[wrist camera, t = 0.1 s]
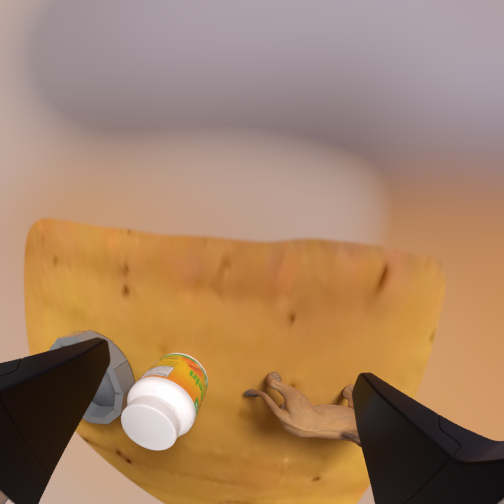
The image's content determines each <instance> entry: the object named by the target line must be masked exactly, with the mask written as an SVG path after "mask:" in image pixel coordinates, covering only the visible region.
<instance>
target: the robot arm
mask: <svg viewBox="0 0 504 504" xmlns="http://www.w3.org/2000/svg"><path fill="white" fill-rule="evenodd" d="M110 361H111V357H110V351H109V344H108V341H107V340H106V339H103V338H99V337H96V338H92V339H89V340H85V341H82V342H79V343H75V344H72V345H68V346H65V347H61V348H58V349H54V350H50V351H47V352H43V353H39V354H36V355H32V356H28V357H24V358H23V359H21V358H20V359H16V360H12V361H8V362H3V363H0V504H5V503H6V501H7V500H8V499H9V500H10V501H11V502H12V503H14V504H38V503H39V501H40V499H41V497H42V495H43V493H44V490H45V488H46V486H47V484H48V482H49V480H50V478H51V475H52V473H53V471H54V469H55V467H56V465H57V463H58V462H59V460H60V458H61V456H62V454H63V452H64V450H65V448H66V446H67V445H68V443H69V441H70V439H71V437H72V435H73V433H74V432H75V430H76V428H77V426H78V425H79V423H80V421H81V419H82V418H83V416H84V414H85V412H86V411H87V409H88V407H89V405H90V404H91V402H92V400H93V399H94V397H95V395H96V393H97V391H98V389H99V387H100V385H101V382H102V380H103V378H104V376H105V373H106V371H107V369H108V367H109V365H110ZM352 400H353V406H354V413H355V420H356V426H357V431H358V435H359V439H360V443H361V447H362V451H363V454H364V458H365V462H366V466H367V470H368V475H369V479H370V483H371V487H372V492H373V496H374V501H375V504H504V441H494V440H491V439H488V438H486V437H483V436H481V435H479V434H476V433H474V432H472V431H470V430H467V429H465V428H463V427H461V426H459V425H457V424H455V423H453V422H451V421H449V420H448V419H446V418H444V417H442V416H441V415H438V414H437V413H435V412H434V411H432V410H430V409H429V408H427V407H425V406H423V405H422V404H420V403H419V402H417V401H415V400H414V399H412V398H410V397H409V396H407V395H406V394H404V393H402V392H401V391H399V390H397V389H396V388H394V387H393V386H391V385H389V384H388V383H386V382H385V381H383V380H381V379H380V378H378V377H377V376H375V375H374V374H372V373H360V374H359V376H358V378H357V380H356V383H355V385H354V388H353V390H352Z"/></svg>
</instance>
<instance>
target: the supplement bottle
mask: <svg viewBox="0 0 504 504" xmlns="http://www.w3.org/2000/svg"><path fill="white" fill-rule="evenodd" d="M207 385H208V378H207V374H206V371H205V369H204V368H203V366H202V365H201V364H200V363H199V362H198V361H197V360H196V359H195V358H193V357H191V356H189V355H186V354H183V353H171V354H167V355H165V356H163V357H162V358H161V359H159V360H158V361H157V362H156V363H155V364H154V365H153V366H152V367H151V368H150V369H149V370H148V371H147V372H146V373H145V374H144V375H143V376H142V377H141V378H140V379H139V380H138V381H137V382H136V383H135V384H134V385H133V386H132V388H131V389H130V391H129V394H128V398H127V404H128V405H127V407H126V408H125V409H124V410H123V412H122V415H121V423H122V427H123V429H124V431H125V432H126V434H127V435H128V436H129V437H130V438H131V439H132V440H133V441H134V442H135V443H137V444H138V445H140V446H142V447H144V448H147V449H150V450H165V449H168V448H170V447H171V446H172V445H173V444H174V443H175V441H176V439H177V437H179V436H181V435H183V434H185V433H187V432H188V431H189V430H190V428H191V427H192V425H193V423H194V421H195V418H196V416H197V413H198V410H199V408H200V405H201V402H202V400H203V397H204V395H205V392H206V390H207Z"/></svg>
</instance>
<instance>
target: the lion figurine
mask: <svg viewBox="0 0 504 504" xmlns="http://www.w3.org/2000/svg"><path fill="white" fill-rule="evenodd" d="M266 381H267V383H268V385H269V386H270V387H271V388H273V389H275V390H277V391H278V392H279V393H280V394H281V395H282V396H283V397H284V400H285V404H282V405H280V408H279V407H278V406H277V405H276V404H275V402H274V401H273V400H272V399H271V398H270V397H269V396H268V395H267V394H266V393H264V392H262V391H256V390H253V389H251V390H248V391H246V392H245V395H246V396H253V397H258V396H260V397H262V398H263V399H264V400H265V401H266V403H267V404H268V406H269V407H270V409H271V410H272V412H273V413H274V414H275V415H276V416H277V417H278V419H279V420H280V422H281V425H282V427H283V428H284V429H285V430H286V431H287V432H289V433H291V434H294V435H296V436H298V437H303V438H307V437H320V438H329V439H338V440H348V441H352V442H354V443H356V444H357V445H358V446H360V447H361V443H360V439H359V435H358V431H357V426H356V420H355V413H354V406H353V400H352V390H353V388H354V385H353V384H350V385H348V386H347V387H346V388H345V389H344V391H343V396H344V397H345V398H346V399H347V400H348V407H345V406H340V405H318V406H313V405H312V404H311V402H310V401H309V400H308V398H307V397H306V396H305V395H303V394H302V393H301V392H300V391H298V390H297V389H295V388H293V387H291V386H288V385H286V384H283V383H281V382H280V381H281V377H280V375H279V374H278V373H277V372H271V373H270V374H269V375H268V376H267V379H266ZM412 399H413V398H412Z"/></svg>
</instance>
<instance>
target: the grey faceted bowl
mask: <svg viewBox="0 0 504 504" xmlns="http://www.w3.org/2000/svg"><path fill="white" fill-rule="evenodd" d="M96 337H99V338H103V339H106V340H107V341H108V344H109V351H110V357H111V361H110V365H109V367H108V369H107V371H106V373H105V376H104V378H103V380H102V382H101V385H100V387H99V389H98V391H97V393H96V395H95V397H94V399H93V400H92V402H91V404H90V405H89V407H88V409H87V411H86V412H85V414H84V416H83V419H84V420H86V421H88V422H89V423H98V424H109V423H110V422H112V421H113V420H114V419H116V418H117V417H118V416H119V415H121V414H122V412H123V410H124V409H125V408H126V407H127V405H128V404H127V398H128V394H129V391H130V389H131V388H132V386H133V385H134V384H135V380H134V375H133V372H132V369H131V366H130V364H129V362H128V360H127V359H126V357H125V356H124V354H123V353H122V351H121V350H120V349H119V348H118V347H117V346H116V345H115V344H114V343H113V342H112V341H111V340H109V339H108V338H107V337H105V336H103V335H101V334H99V333H96V332H93V331H91V330H89V331H81V332H74V333H71V334H69V335H66V336H63V337H60V338H58V339H57V340H56V341H55V343H54V344H53V346H52V347H51V348H50V350H54V349H58V348H61V347H65V346H68V345H72V344H75V343H79V342H82V341H85V340H89V339H92V338H96ZM50 350H49V351H50Z"/></svg>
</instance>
